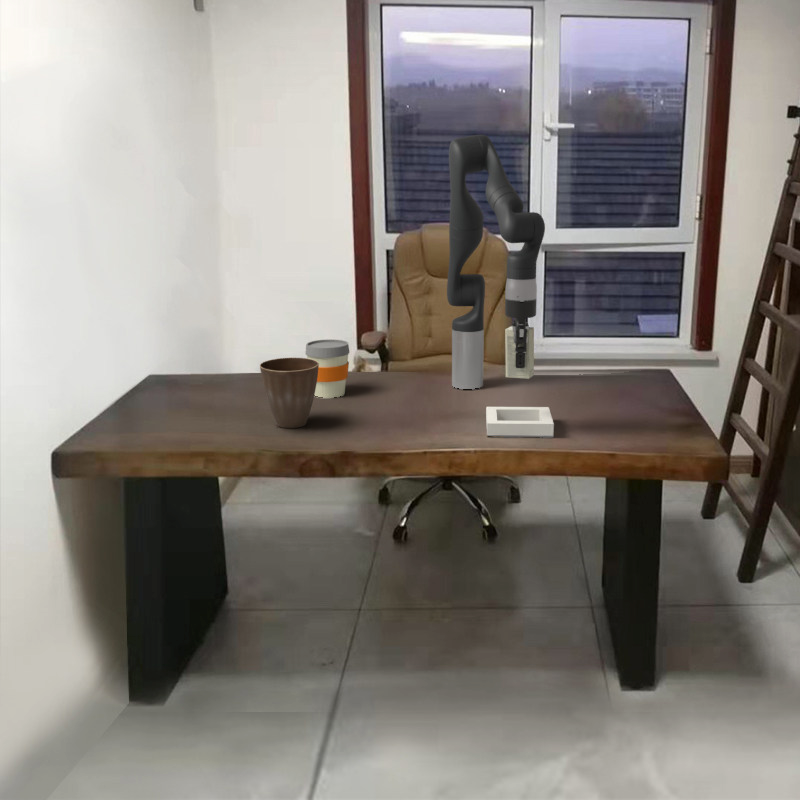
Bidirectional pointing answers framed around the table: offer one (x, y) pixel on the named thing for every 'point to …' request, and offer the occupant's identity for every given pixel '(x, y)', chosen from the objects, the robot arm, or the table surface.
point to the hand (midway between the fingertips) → (519, 364)
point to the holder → (519, 422)
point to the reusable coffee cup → (330, 366)
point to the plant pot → (290, 389)
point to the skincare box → (511, 355)
